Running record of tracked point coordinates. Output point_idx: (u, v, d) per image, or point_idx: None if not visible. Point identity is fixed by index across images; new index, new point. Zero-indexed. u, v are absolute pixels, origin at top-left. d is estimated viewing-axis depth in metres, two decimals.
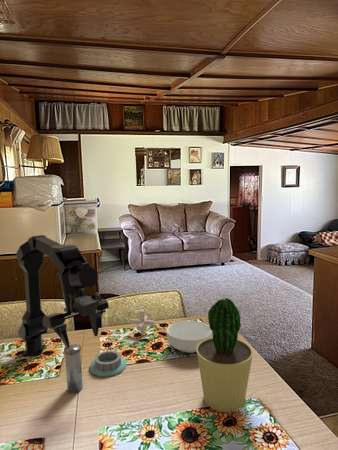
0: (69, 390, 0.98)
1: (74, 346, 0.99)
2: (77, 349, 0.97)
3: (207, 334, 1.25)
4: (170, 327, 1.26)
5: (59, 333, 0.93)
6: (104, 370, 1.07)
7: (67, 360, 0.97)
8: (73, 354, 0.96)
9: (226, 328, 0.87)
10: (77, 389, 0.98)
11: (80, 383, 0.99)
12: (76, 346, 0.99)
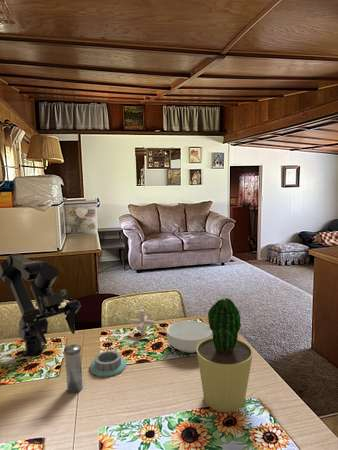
0: (69, 390, 0.98)
1: (74, 346, 0.99)
2: (77, 349, 0.97)
3: (207, 334, 1.25)
4: (170, 327, 1.26)
5: (36, 332, 1.02)
6: (104, 370, 1.07)
7: (67, 360, 0.97)
8: (73, 354, 0.96)
9: (226, 328, 0.87)
10: (77, 389, 0.98)
11: (80, 383, 0.99)
12: (76, 346, 0.99)
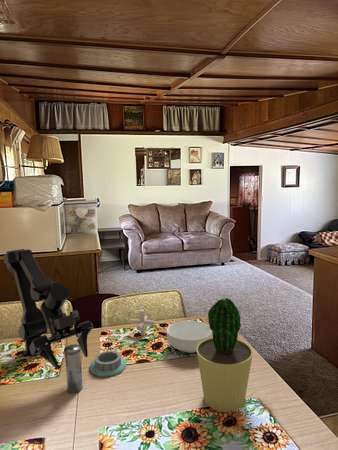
0: (69, 390, 0.98)
1: (74, 346, 0.99)
2: (77, 349, 0.97)
3: (207, 334, 1.25)
4: (170, 327, 1.26)
5: (47, 357, 0.98)
6: (104, 370, 1.07)
7: (67, 360, 0.97)
8: (73, 354, 0.96)
9: (226, 328, 0.87)
10: (77, 389, 0.98)
11: (80, 383, 0.99)
12: (76, 346, 0.99)
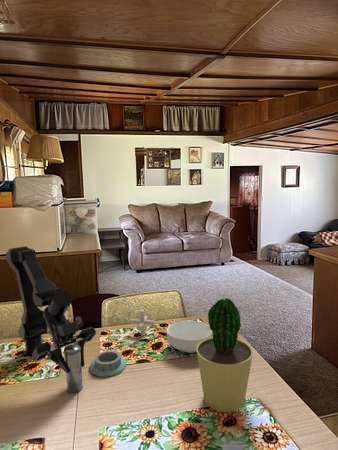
0: (69, 390, 0.98)
1: (74, 346, 0.99)
2: (77, 349, 0.97)
3: (207, 334, 1.25)
4: (170, 327, 1.26)
5: (57, 361, 0.98)
6: (104, 370, 1.07)
7: (67, 360, 0.97)
8: (73, 354, 0.96)
9: (226, 328, 0.87)
10: (77, 389, 0.98)
11: (80, 383, 0.99)
12: (76, 346, 0.99)
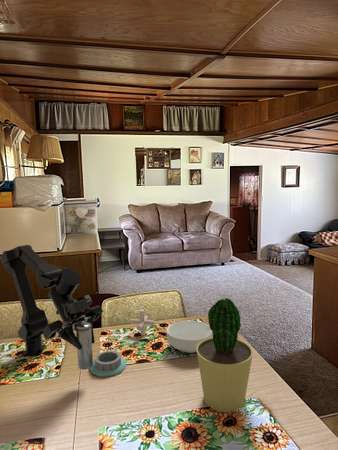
0: (81, 366, 1.00)
1: (84, 323, 1.01)
2: (88, 326, 1.00)
3: (207, 334, 1.25)
4: (170, 327, 1.26)
5: (69, 339, 1.00)
6: (104, 370, 1.07)
7: (79, 337, 0.99)
8: (85, 330, 0.99)
9: (226, 328, 0.87)
10: (88, 365, 1.00)
11: (91, 359, 1.01)
12: (86, 323, 1.02)
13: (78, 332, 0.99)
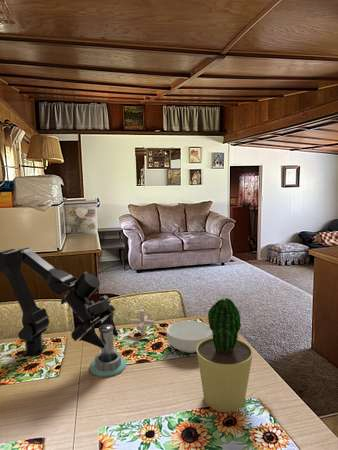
0: None
1: (106, 325, 1.11)
2: (111, 327, 1.10)
3: (207, 334, 1.25)
4: (170, 327, 1.26)
5: (91, 340, 1.06)
6: (104, 370, 1.07)
7: (104, 338, 1.08)
8: (110, 331, 1.09)
9: (226, 328, 0.87)
10: None
11: (114, 358, 1.11)
12: (107, 325, 1.11)
13: (103, 334, 1.08)
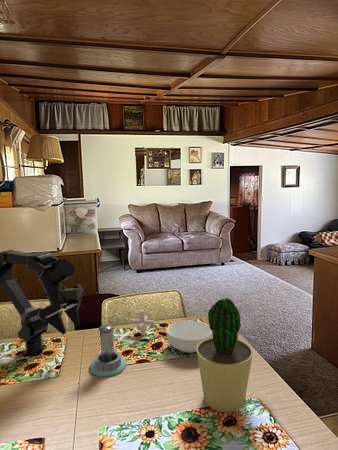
0: None
1: (106, 325, 1.11)
2: (112, 327, 1.10)
3: (207, 334, 1.25)
4: (170, 327, 1.26)
5: (54, 323, 1.06)
6: (104, 370, 1.07)
7: (105, 338, 1.08)
8: (110, 331, 1.09)
9: (226, 328, 0.87)
10: None
11: (114, 357, 1.11)
12: (107, 325, 1.11)
13: (104, 334, 1.08)
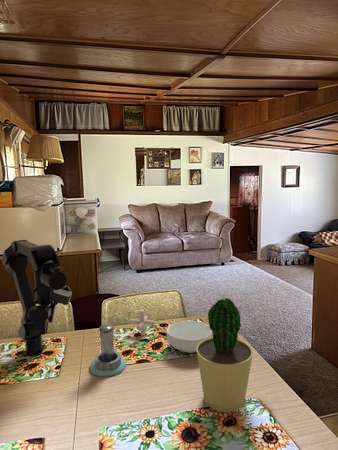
0: None
1: (106, 325, 1.11)
2: (112, 327, 1.10)
3: (207, 334, 1.25)
4: (170, 327, 1.26)
5: (38, 323, 1.05)
6: (104, 370, 1.07)
7: (105, 338, 1.08)
8: (111, 331, 1.09)
9: (226, 328, 0.87)
10: None
11: (114, 357, 1.11)
12: (107, 325, 1.11)
13: (104, 334, 1.08)
